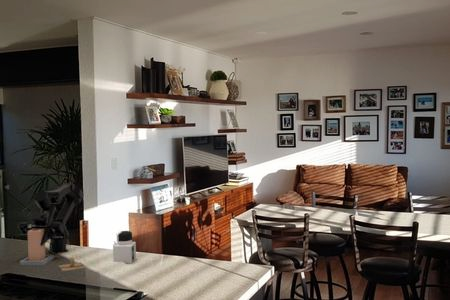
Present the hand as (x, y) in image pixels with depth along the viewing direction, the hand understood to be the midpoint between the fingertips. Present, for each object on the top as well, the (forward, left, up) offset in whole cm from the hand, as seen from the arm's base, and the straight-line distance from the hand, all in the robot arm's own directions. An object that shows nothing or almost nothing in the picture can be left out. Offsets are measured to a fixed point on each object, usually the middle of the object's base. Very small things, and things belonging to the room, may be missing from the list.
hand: (35, 245), depth 192 cm
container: (-26, +27, -9) cm, 39 cm away
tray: (-1, -1, -8) cm, 9 cm away
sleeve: (-1, -1, -7) cm, 7 cm away
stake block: (-6, +18, -8) cm, 21 cm away
